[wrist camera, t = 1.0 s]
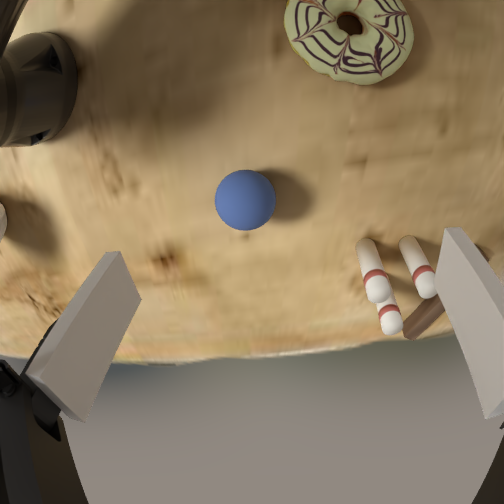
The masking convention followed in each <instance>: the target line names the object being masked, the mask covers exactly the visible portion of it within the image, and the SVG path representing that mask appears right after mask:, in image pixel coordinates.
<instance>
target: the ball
mask: <svg viewBox="0 0 504 504" xmlns="http://www.w3.org/2000/svg"><path fill="white" fill-rule="evenodd" d="M275 205H276V195H275V191H274V188H273V186H272V184H271V183H270V182H269V180H268V179H267V178H266V177H264V176H263V175H262V174H260V173H258V172H255V171H252V170H239V171H236V172H233V173H231V174H229V175H228V176H226V177H225V178H224V179H223V180H222V181H221V183H220V184H219V186H218V188H217V191H216V195H215V206H216V210H217V212H218V214H219V216H220V218H221V219H222V220H223V221H224V222H225V223H226V224H227V225H229V226H230V227H232V228H235V229H238V230H253V229H256V228H259V227H261V226H262V225H264V224H265V223H266V222H267V221H268V220H269V219H270V217H271V216H272V214H273V212H274V209H275Z"/></svg>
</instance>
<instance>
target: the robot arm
mask: <svg viewBox="0 0 504 504" xmlns="http://www.w3.org/2000/svg"><path fill="white" fill-rule="evenodd" d="M27 2H28V0H0V147H25V146H33V145H37V144H39V143H42V142H44V141H46V140H48V139H50V138H52V137H53V136H55V135H56V134H57V133H58V132H59V131H60V130H61V129H62V128H63V126H64V125H65V123H66V122H67V120H68V118H69V116H70V114H71V112H72V109H73V106H74V102H75V98H76V93H77V68H76V63H75V59H74V56H73V54H72V52H71V50H70V48H69V46H68V45H67V43H66V42H65V41H64V40H63V39H62V38H60V37H59V36H57V35H55V34H53V33H47V32H42V33H31V34H27V35H24V36H22V37H20V38H18V39H16V40H14V41H12V42H10V43H8V41H9V39H10V37H11V34H12V32H13V30H14V28H15V26H16V23H17V21H18V19H19V17H20V15H21V13H22V11H23V9H24V7H25V5H26V3H27ZM433 285H434V287H435V289H436V291H437V293H438V295H439V297H440V299H441V302H442V304H443V306H444V308H445V310H446V313H447V315H448V317H449V319H450V322H451V324H452V326H453V329H454V331H455V334H456V336H457V338H458V341H459V343H460V346H461V348H462V351H463V354H464V356H465V359H466V361H467V364H468V367H469V370H470V373H471V376H472V378H473V381H474V384H475V387H476V390H477V394H478V397H479V400H480V403H481V406H482V410H483V413H484V417H485V420H486V419H489V418H492V417H495V416H498V415H500V414H503V413H504V286H503V284H502V283H501V281H500V280H499V278H498V277H497V275H496V274H495V273H494V271H493V270H492V268H491V267H490V265H489V264H488V262H487V261H486V260H485V258H484V257H483V256H482V254H481V253H480V251H479V250H478V249H477V247H476V246H475V245H474V243H473V242H472V241H471V239H470V238H469V237H468V236H467V234H466V233H465V232H464V231H463V229H462V228H461V227H451V228H445V230H444V235H443V241H442V246H441V251H440V255H439V260H438V265H437V269H436V273H435V277H434V281H433ZM141 300H142V299H141V297H140V295H139V293H138V291H137V289H136V286H135V284H134V282H133V280H132V278H131V275H130V273H129V271H128V268H127V266H126V264H125V261H124V259H123V257H122V254H121V252H120V251H114V252H106V253H105V254H104V256H103V257H102V258H101V260H100V261H99V262H98V264H97V265H96V266H95V268H94V269H93V270H92V272H91V273H90V274H89V276H88V277H87V278H86V280H85V281H84V283H83V284H82V285H81V287H80V288H79V290H78V291H77V292H76V294H75V295H74V297H73V298H72V300H71V301H70V303H69V304H68V306H67V307H66V308H65V310H64V311H63V313H62V314H61V316H60V317H59V318H58V319H57V320H56V321H55V322H54V323H53V324H52V325H51V326H50V327H49V328H48V330H47V332H46V333H45V335H44V336H43V339H41V341H40V343H39V344H38V347H36V349H35V351H34V352H33V354H32V356H31V357H30V359H29V361H28V362H27V364H26V366H25V368H24V369H23V371H22V373H21V374H20V376H19V375H18V374H17V373H16V372H15V371H14V370H13V369H12V368H11V367H10V365H9V364H8V363H7V362H6V361H5V360H0V504H89V503H88V501H87V498H86V496H85V493H84V490H83V487H82V485H81V482H80V479H79V476H78V473H77V470H76V467H75V463H74V460H73V457H72V453H71V450H70V446H69V443H68V439H67V435H66V431H65V427H64V423H63V420H62V418H61V417H60V416H59V413H60V411H61V410H62V411H63V412H64V413H65V414H66V415H67V416H68V417H69V418H71V419H74V420H77V421H81V422H84V423H85V421H86V419H87V417H88V414H89V412H90V410H91V407H92V405H93V402H94V400H95V398H96V395H97V393H98V391H99V388H100V386H101V384H102V381H103V379H104V377H105V375H106V373H107V370H108V368H109V366H110V364H111V362H112V360H113V357H114V355H115V353H116V351H117V349H118V347H119V345H120V342H121V340H122V338H123V336H124V334H125V332H126V330H127V328H128V326H129V324H130V322H131V320H132V318H133V316H134V314H135V312H136V310H137V308H138V306H139V304H140V302H141ZM502 428H504V422H503V423H502V425H501V427H500V429H502ZM472 504H504V436H503V438H502V441H501V443H500V446H499V448H498V451H497V453H496V456H495V458H494V460H493V462H492V465H491V467H490V469H489V471H488V473H487V475H486V478H485V479H484V481H483V483H482V485H481V488H480V489H479V491H478V493H477V495H476V497H475V499H474V500H473V502H472Z"/></svg>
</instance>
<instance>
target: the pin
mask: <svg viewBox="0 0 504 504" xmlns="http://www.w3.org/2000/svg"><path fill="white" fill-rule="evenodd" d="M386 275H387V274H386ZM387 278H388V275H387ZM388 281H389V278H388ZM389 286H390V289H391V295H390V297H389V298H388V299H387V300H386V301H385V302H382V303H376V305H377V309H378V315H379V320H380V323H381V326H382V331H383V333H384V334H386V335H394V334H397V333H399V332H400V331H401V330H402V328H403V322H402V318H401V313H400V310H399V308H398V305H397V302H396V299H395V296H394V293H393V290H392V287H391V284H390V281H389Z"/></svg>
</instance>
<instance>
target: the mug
mask: <svg viewBox="0 0 504 504" xmlns="http://www.w3.org/2000/svg"><path fill="white" fill-rule="evenodd" d="M6 227H7V216H6V213H5V209H4V207H3V205H2V204H1V203H0V242H1V240H2V238H3V236H4V233H5V230H6Z"/></svg>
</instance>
